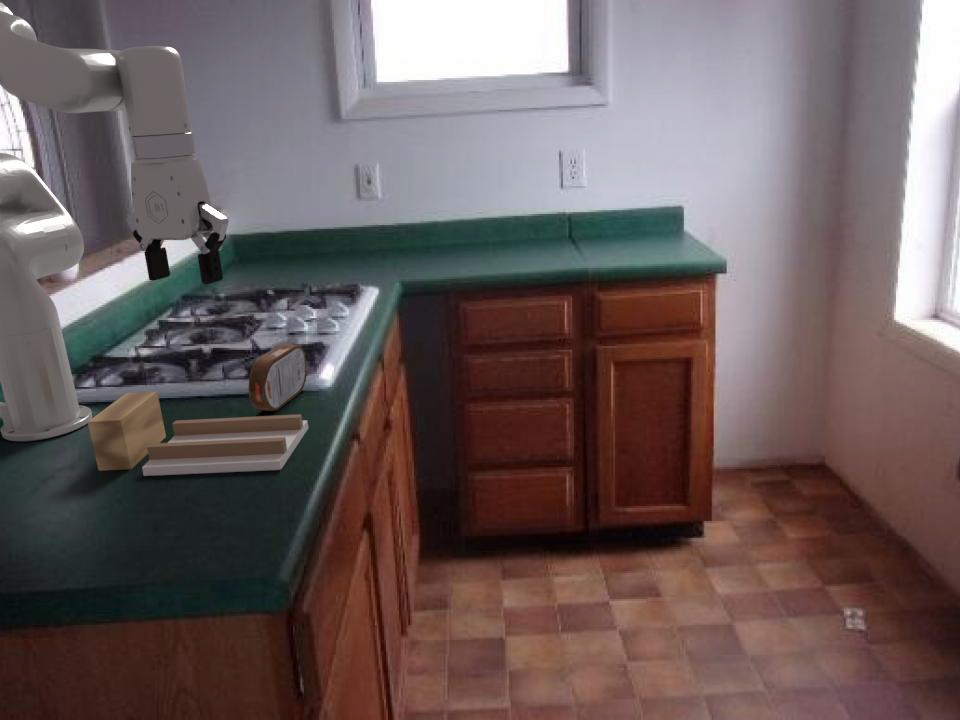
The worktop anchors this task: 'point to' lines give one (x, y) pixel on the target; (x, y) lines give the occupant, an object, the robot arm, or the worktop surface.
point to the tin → (277, 377)
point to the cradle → (227, 445)
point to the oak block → (126, 430)
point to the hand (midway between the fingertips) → (185, 280)
